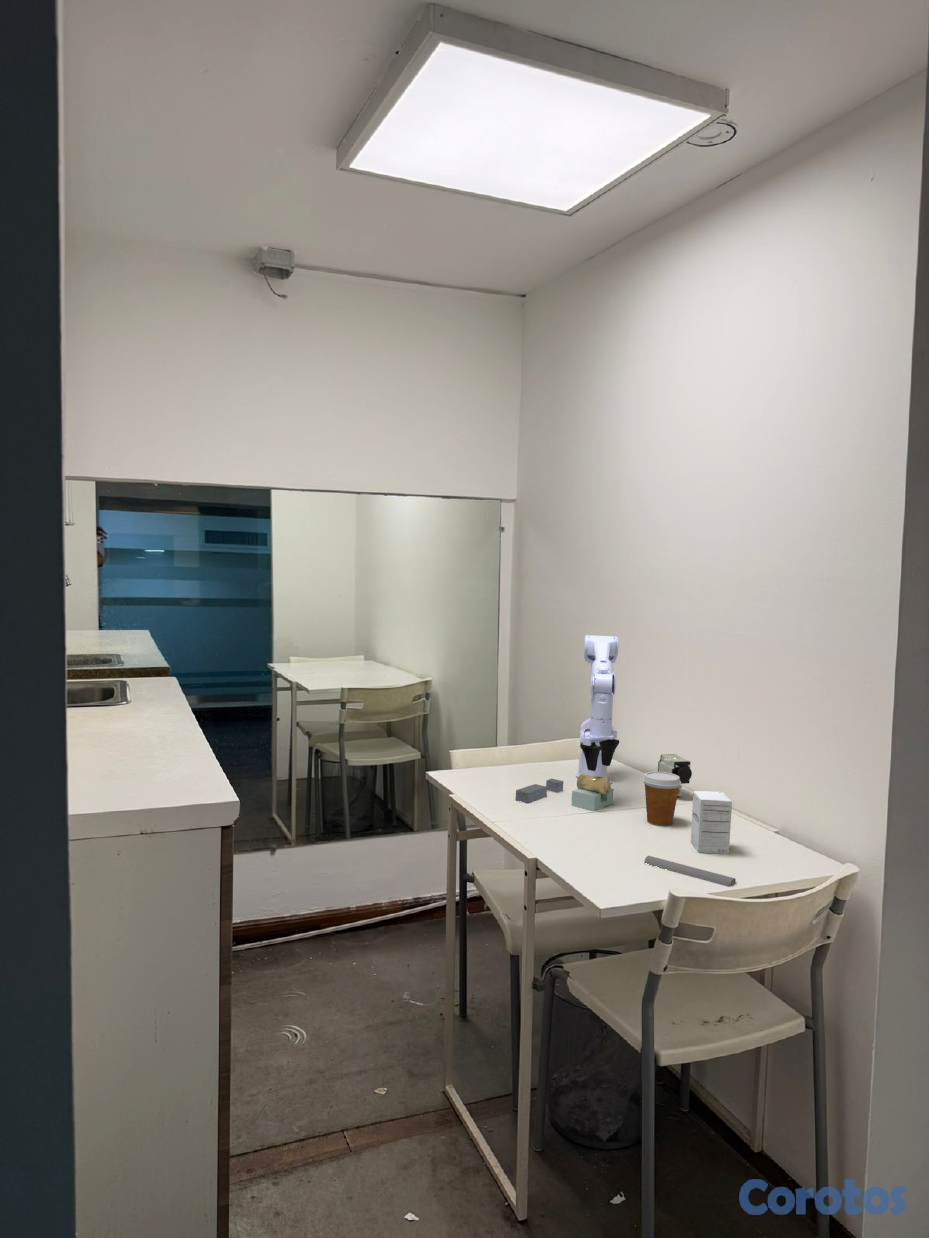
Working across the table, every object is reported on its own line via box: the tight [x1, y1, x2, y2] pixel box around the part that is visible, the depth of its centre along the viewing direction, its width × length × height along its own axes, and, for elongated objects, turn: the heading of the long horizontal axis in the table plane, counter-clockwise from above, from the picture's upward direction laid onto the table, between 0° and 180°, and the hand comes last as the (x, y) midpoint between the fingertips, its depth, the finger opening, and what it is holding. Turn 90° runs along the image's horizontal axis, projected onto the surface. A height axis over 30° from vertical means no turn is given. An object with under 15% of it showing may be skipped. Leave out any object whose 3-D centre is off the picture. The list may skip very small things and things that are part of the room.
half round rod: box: [643, 855, 737, 887], centre depth 184 cm, size 4×20×2 cm, turn 52°
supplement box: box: [690, 790, 733, 855], centre depth 199 cm, size 7×7×13 cm
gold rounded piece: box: [576, 774, 612, 794], centre depth 231 cm, size 8×4×4 cm, turn 51°
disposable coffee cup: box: [642, 771, 682, 827], centre depth 218 cm, size 10×10×12 cm
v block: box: [571, 788, 614, 812], centre depth 232 cm, size 7×10×4 cm
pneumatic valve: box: [657, 753, 693, 798], centre depth 243 cm, size 6×12×12 cm, turn 14°
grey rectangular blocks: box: [515, 778, 564, 804], centre depth 239 cm, size 4×18×3 cm, turn 141°
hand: (598, 767), depth 230 cm, fingers open, 7 cm apart
